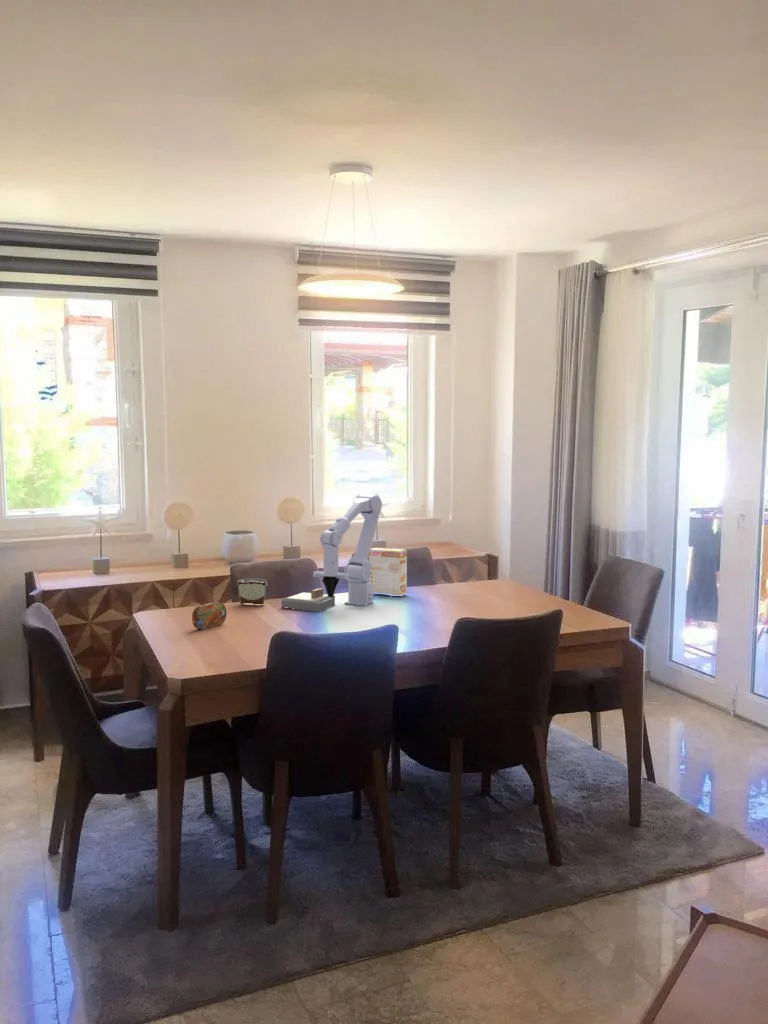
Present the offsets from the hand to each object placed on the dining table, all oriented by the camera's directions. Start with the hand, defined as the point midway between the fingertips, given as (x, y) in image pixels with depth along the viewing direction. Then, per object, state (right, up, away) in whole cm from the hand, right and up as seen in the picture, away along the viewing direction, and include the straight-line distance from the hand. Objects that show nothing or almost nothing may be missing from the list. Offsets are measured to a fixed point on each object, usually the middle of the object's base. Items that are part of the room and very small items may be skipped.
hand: (330, 596), depth 335 cm
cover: (-9, -1, +4) cm, 10 cm away
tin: (-40, -8, -33) cm, 53 cm away
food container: (-31, -4, +9) cm, 33 cm away
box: (-9, -5, +5) cm, 11 cm away
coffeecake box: (+22, -3, +32) cm, 39 cm away
